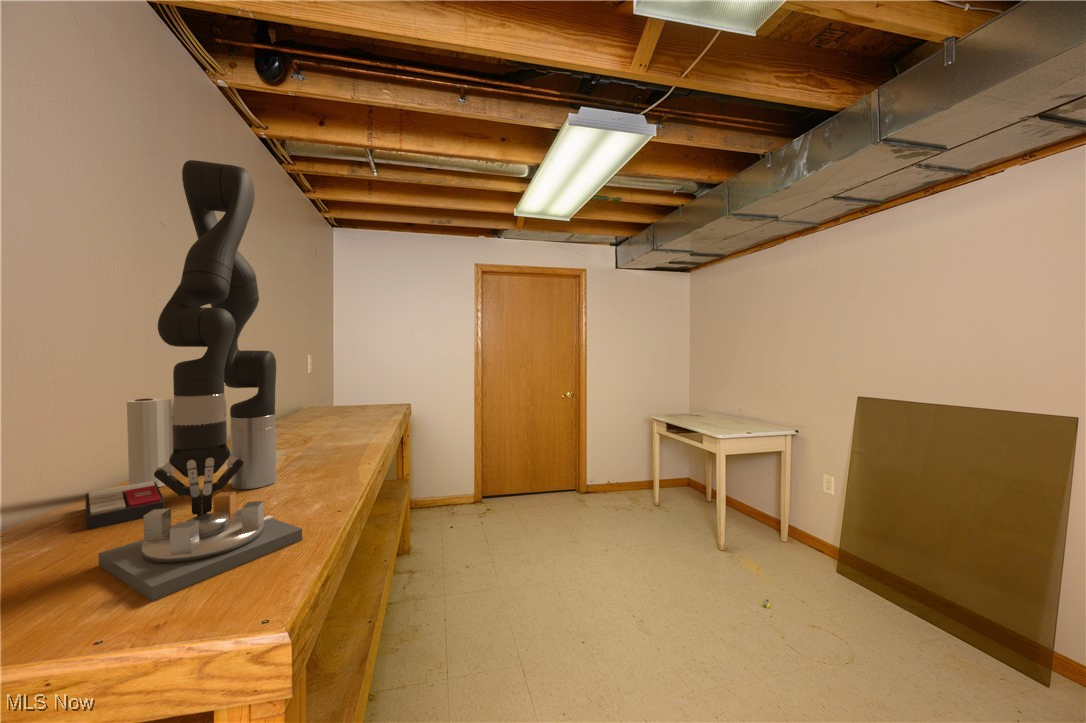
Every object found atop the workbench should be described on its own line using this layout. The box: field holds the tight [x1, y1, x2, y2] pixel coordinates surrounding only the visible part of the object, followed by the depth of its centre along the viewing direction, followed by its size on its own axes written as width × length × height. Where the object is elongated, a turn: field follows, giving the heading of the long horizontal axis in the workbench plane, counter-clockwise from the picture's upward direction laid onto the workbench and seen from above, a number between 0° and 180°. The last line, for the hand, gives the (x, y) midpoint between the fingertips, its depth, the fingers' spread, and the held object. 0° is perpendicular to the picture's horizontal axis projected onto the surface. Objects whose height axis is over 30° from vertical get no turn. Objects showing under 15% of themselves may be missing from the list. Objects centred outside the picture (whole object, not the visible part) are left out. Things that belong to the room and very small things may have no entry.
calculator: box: [84, 481, 166, 530], centre depth 88 cm, size 11×4×15 cm
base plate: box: [98, 508, 303, 602], centre depth 72 cm, size 19×21×2 cm
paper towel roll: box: [126, 398, 175, 488], centre depth 102 cm, size 7×6×21 cm
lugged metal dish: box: [142, 490, 265, 563], centre depth 71 cm, size 16×16×5 cm
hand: (201, 515), depth 76 cm, fingers closed
